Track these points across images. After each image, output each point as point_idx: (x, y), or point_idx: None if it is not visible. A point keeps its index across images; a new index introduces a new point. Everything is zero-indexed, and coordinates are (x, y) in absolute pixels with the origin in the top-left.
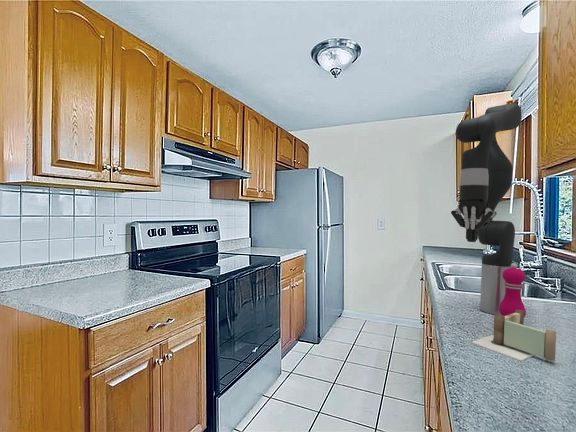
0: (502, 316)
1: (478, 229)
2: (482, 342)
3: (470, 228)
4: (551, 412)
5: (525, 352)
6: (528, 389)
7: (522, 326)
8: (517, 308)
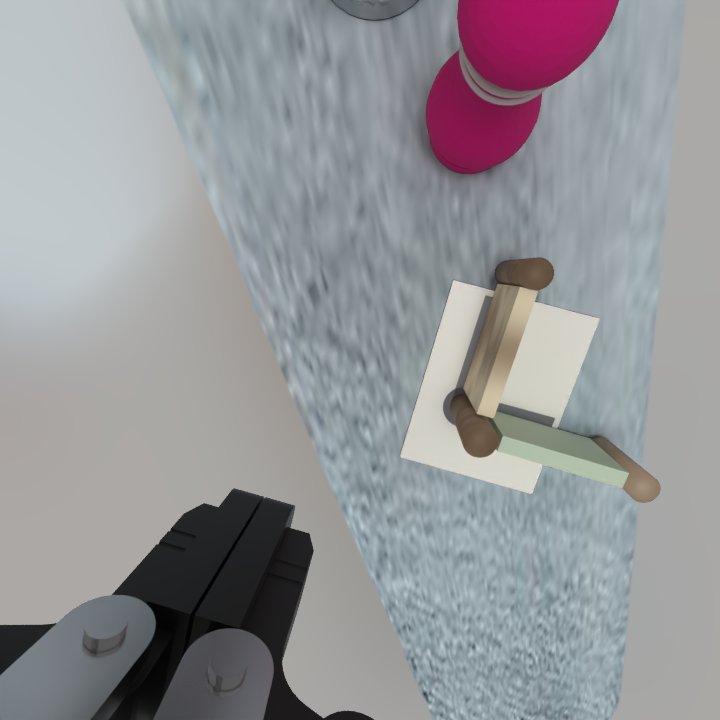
0: (490, 440)
1: (283, 679)
2: (425, 436)
3: (149, 717)
4: (591, 690)
5: None
6: (553, 631)
7: (555, 467)
8: (513, 145)
